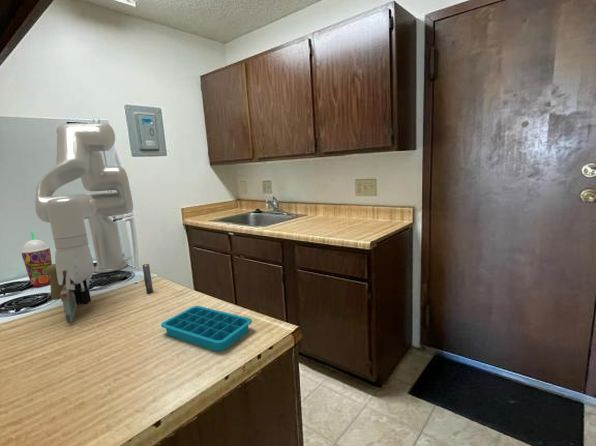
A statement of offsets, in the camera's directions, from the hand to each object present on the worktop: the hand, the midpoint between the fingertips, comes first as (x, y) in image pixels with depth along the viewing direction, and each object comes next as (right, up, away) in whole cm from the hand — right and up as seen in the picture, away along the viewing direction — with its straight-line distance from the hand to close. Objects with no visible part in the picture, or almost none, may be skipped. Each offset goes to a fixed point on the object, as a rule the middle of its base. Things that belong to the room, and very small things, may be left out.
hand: (84, 303), depth 91 cm
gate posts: (+2, -1, +12) cm, 12 cm away
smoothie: (-34, 0, +27) cm, 43 cm away
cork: (-17, -1, +15) cm, 23 cm away
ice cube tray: (+40, -4, -15) cm, 43 cm away
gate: (-4, -2, +1) cm, 4 cm away
